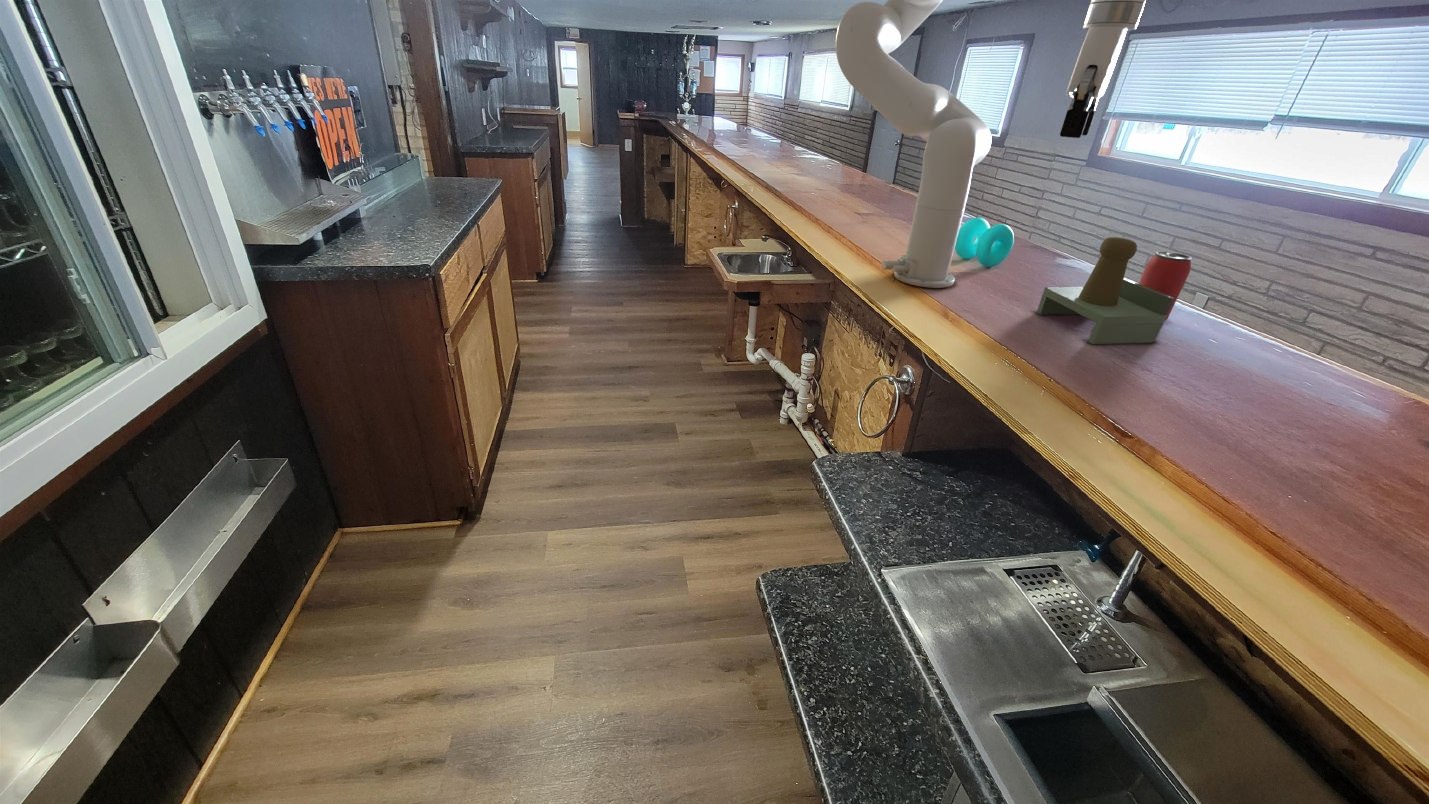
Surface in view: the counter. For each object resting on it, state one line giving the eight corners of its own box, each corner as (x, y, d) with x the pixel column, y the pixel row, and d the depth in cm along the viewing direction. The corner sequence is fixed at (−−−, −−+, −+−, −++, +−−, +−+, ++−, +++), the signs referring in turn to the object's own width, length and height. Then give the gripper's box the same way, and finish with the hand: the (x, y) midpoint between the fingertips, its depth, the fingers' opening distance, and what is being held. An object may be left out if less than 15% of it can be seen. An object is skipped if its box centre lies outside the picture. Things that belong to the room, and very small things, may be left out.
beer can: (1153, 312, 111) (1181, 251, 105) (1174, 324, 105) (1204, 261, 99) (1119, 309, 111) (1144, 249, 105) (1137, 322, 106) (1165, 258, 100)
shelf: (1092, 344, 95) (1111, 299, 91) (1036, 312, 108) (1050, 271, 104) (1154, 342, 97) (1175, 298, 93) (1091, 311, 110) (1107, 271, 106)
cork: (1104, 308, 96) (1130, 243, 91) (1071, 297, 101) (1094, 235, 96) (1124, 303, 99) (1151, 241, 94) (1091, 293, 104) (1115, 232, 98)
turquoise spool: (977, 255, 144) (988, 215, 139) (1009, 266, 136) (1022, 224, 131) (947, 258, 140) (957, 217, 135) (978, 270, 132) (990, 226, 127)
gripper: (1091, 24, 98) (1057, 132, 107) (1078, 13, 86) (1041, 136, 94) (1142, 23, 95) (1103, 135, 103) (1136, 12, 82) (1092, 140, 91)
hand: (1073, 136), depth 99 cm, fingers open, 9 cm apart
